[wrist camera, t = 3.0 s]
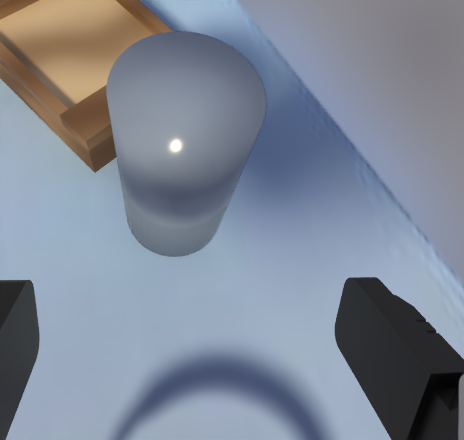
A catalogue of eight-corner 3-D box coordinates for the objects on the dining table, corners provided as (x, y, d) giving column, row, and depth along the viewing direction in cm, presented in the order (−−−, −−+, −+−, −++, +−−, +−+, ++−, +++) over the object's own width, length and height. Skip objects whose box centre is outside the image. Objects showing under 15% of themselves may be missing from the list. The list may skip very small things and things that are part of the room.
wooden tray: (-32, 46, 26) (-58, -1, 23) (81, -12, 29) (72, -60, 26) (94, 172, 24) (85, 141, 21) (198, 96, 28) (204, 59, 24)
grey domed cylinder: (113, 242, 23) (82, 136, 13) (142, 159, 25) (134, 13, 15) (209, 267, 24) (251, 182, 13) (229, 183, 26) (277, 56, 16)
